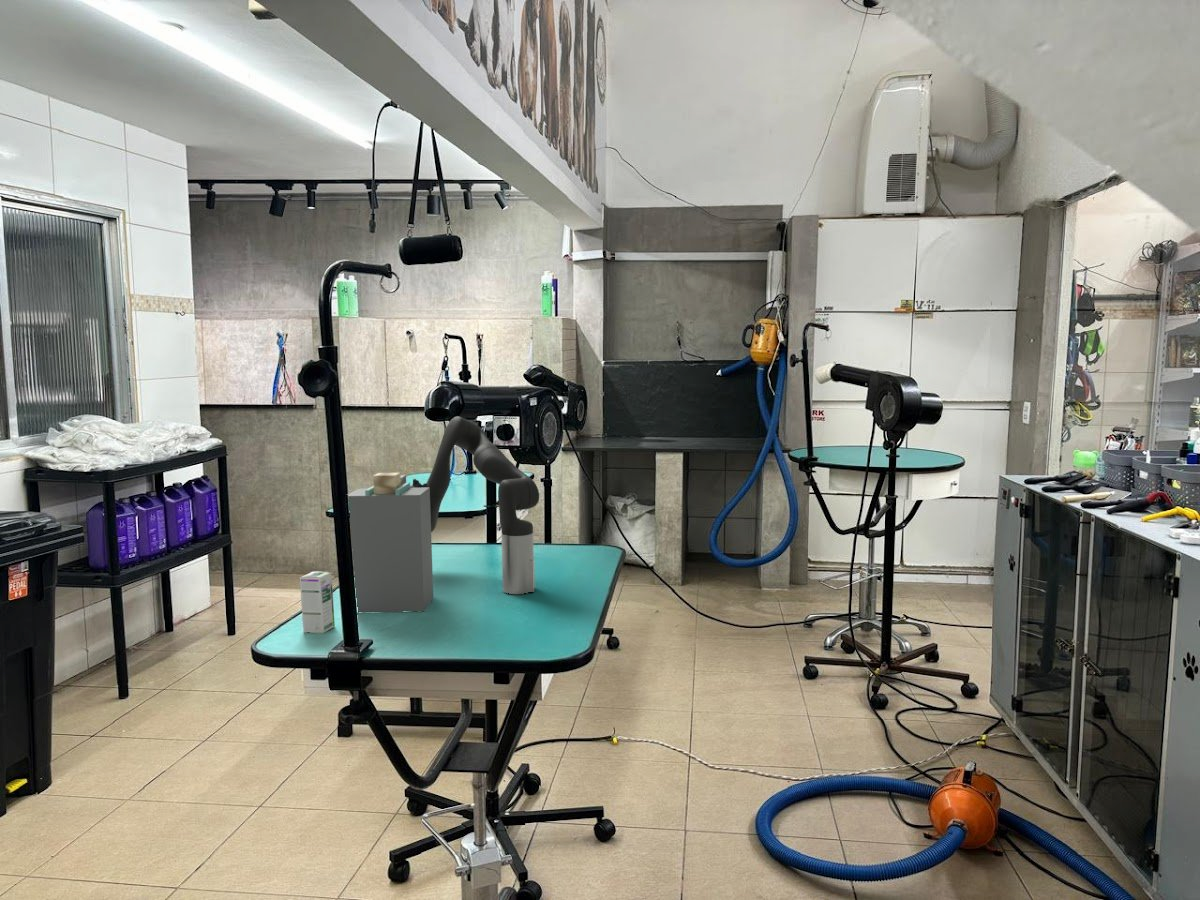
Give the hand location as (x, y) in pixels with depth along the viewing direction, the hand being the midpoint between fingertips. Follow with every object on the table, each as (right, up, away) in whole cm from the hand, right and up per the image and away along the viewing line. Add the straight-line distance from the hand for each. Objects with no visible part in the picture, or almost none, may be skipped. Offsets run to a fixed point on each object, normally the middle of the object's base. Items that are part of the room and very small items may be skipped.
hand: (399, 481), depth 247 cm
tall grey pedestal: (+1, -34, -10) cm, 36 cm away
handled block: (0, -2, -8) cm, 8 cm away
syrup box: (-13, -36, -31) cm, 50 cm away
